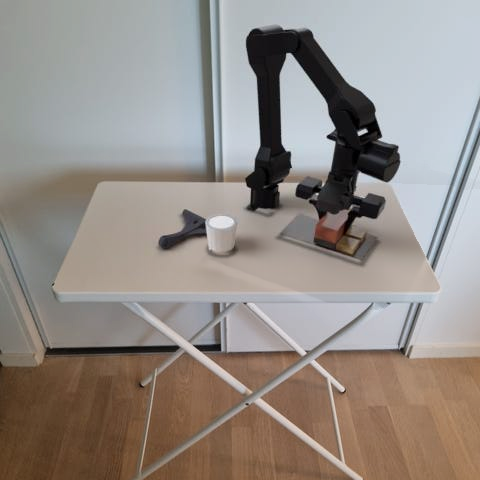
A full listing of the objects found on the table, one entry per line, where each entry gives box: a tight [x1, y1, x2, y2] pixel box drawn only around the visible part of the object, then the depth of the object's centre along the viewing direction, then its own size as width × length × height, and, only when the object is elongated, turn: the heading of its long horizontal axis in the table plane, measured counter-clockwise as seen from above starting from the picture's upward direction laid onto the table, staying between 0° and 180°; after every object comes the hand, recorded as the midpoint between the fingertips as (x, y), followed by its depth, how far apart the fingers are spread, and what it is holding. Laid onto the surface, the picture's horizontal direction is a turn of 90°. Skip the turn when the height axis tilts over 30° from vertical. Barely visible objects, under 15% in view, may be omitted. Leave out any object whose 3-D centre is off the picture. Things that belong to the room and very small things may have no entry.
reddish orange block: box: [313, 207, 353, 249], centre depth 104 cm, size 5×11×5 cm, turn 149°
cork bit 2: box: [336, 236, 360, 254], centre depth 103 cm, size 4×4×2 cm
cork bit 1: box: [344, 225, 368, 243], centre depth 106 cm, size 4×4×2 cm
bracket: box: [157, 208, 207, 250], centre depth 106 cm, size 14×15×3 cm
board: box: [279, 213, 378, 261], centre depth 107 cm, size 20×11×1 cm, turn 60°
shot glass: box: [205, 213, 238, 253], centre depth 101 cm, size 7×7×7 cm
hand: (333, 231), depth 105 cm, fingers closed on reddish orange block, 5 cm apart
